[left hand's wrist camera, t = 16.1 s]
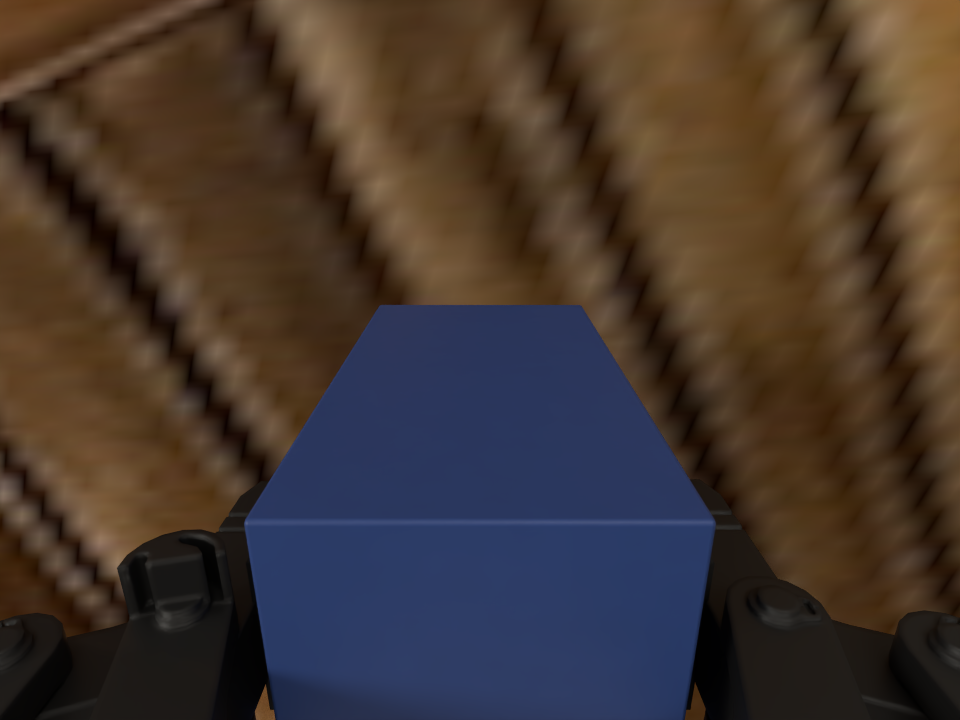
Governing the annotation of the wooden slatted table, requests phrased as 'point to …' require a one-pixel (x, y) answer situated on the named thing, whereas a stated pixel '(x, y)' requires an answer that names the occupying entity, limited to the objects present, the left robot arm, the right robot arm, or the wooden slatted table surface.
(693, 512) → the bar
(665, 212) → the wooden slatted table surface
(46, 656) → the left robot arm
